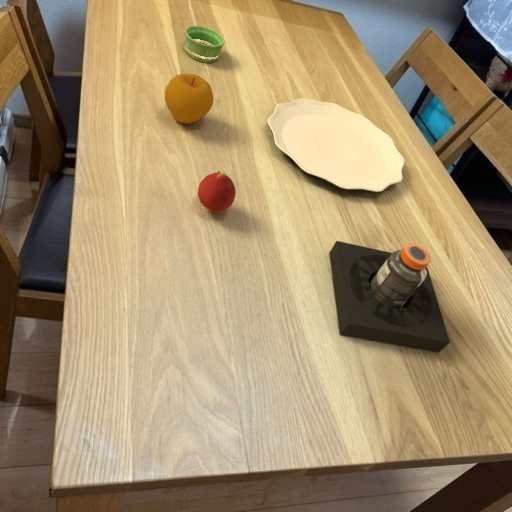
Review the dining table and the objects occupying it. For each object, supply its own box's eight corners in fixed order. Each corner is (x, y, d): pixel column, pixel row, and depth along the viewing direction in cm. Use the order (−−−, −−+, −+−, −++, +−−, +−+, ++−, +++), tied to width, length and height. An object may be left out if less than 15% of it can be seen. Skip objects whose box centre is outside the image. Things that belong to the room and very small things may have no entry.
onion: (223, 197, 82) (235, 159, 76) (233, 222, 79) (246, 184, 73) (190, 197, 79) (200, 158, 74) (198, 223, 76) (209, 184, 70)
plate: (285, 193, 87) (290, 183, 86) (252, 99, 105) (256, 89, 104) (420, 204, 98) (427, 195, 96) (369, 117, 116) (374, 108, 114)
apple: (185, 140, 89) (194, 97, 83) (149, 114, 91) (156, 70, 85) (216, 125, 95) (227, 84, 89) (182, 101, 97) (191, 59, 91)
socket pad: (439, 352, 73) (450, 342, 71) (339, 335, 70) (348, 323, 67) (416, 271, 84) (425, 259, 82) (329, 252, 80) (336, 240, 78)
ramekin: (224, 53, 116) (229, 35, 112) (214, 69, 109) (218, 50, 106) (188, 39, 115) (192, 20, 112) (176, 54, 109) (179, 35, 106)
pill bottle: (405, 308, 77) (446, 262, 69) (381, 321, 74) (420, 274, 66) (380, 280, 80) (416, 233, 72) (356, 291, 76) (391, 243, 68)
